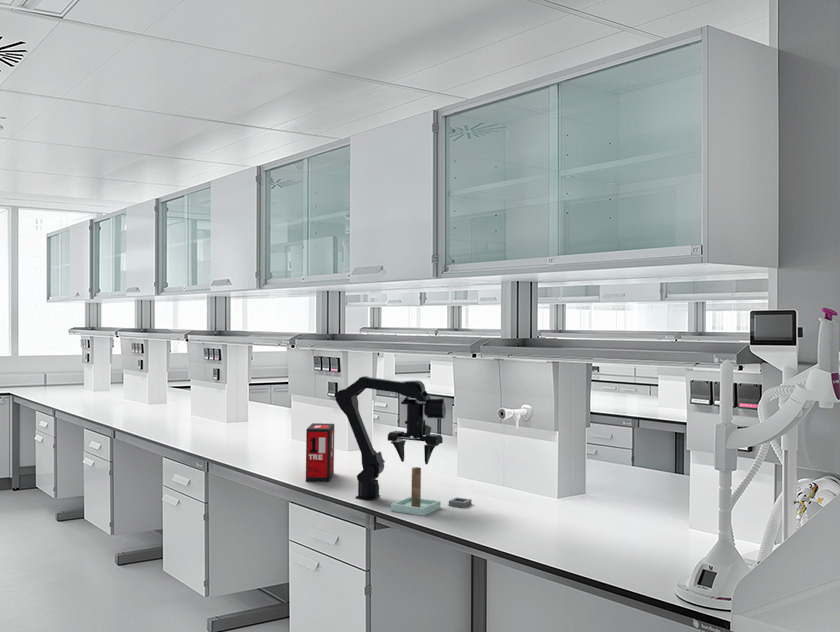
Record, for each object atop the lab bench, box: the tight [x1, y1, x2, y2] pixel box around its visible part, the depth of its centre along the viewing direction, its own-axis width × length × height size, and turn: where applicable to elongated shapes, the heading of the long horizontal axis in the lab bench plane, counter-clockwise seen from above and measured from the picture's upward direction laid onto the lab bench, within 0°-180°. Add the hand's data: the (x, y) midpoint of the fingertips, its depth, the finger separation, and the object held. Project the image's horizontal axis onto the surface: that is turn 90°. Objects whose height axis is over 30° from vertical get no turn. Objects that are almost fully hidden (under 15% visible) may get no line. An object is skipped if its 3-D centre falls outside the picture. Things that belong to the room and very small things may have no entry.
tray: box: [390, 496, 441, 517], centre depth 253 cm, size 12×12×2 cm
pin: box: [410, 466, 422, 507], centre depth 253 cm, size 3×3×12 cm
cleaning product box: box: [305, 422, 335, 483], centre depth 302 cm, size 16×9×20 cm, turn 0°
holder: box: [448, 497, 472, 509], centre depth 260 cm, size 6×6×2 cm
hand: (414, 463), depth 264 cm, fingers open, 9 cm apart
